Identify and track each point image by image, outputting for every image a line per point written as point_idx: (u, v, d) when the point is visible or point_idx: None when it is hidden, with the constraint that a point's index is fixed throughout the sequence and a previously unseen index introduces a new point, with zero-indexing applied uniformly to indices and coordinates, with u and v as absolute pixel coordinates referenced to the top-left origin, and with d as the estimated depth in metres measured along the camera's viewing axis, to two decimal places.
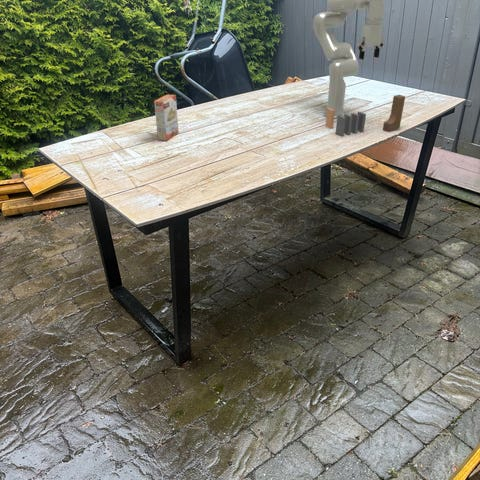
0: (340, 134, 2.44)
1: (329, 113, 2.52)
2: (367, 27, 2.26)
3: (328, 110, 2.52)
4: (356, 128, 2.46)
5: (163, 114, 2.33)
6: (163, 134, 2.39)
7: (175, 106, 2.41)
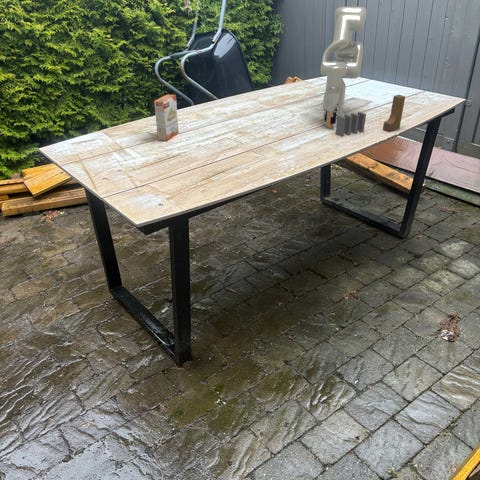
0: (340, 134, 2.44)
1: (329, 113, 2.52)
2: (339, 94, 2.44)
3: None
4: (356, 128, 2.46)
5: (163, 114, 2.33)
6: (163, 134, 2.39)
7: (175, 106, 2.41)
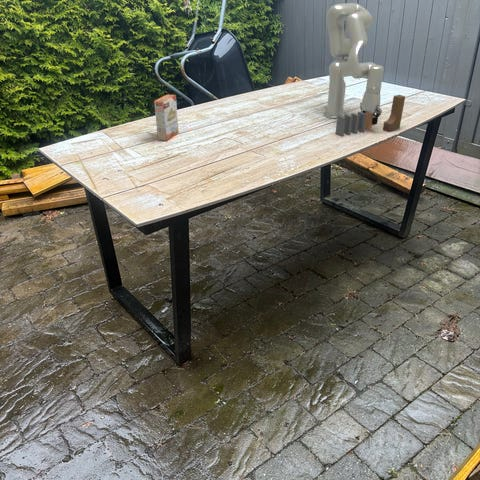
0: (340, 134, 2.44)
1: (368, 115, 2.48)
2: (379, 95, 2.39)
3: (367, 112, 2.48)
4: (356, 128, 2.46)
5: (163, 114, 2.33)
6: (163, 134, 2.39)
7: (175, 106, 2.41)
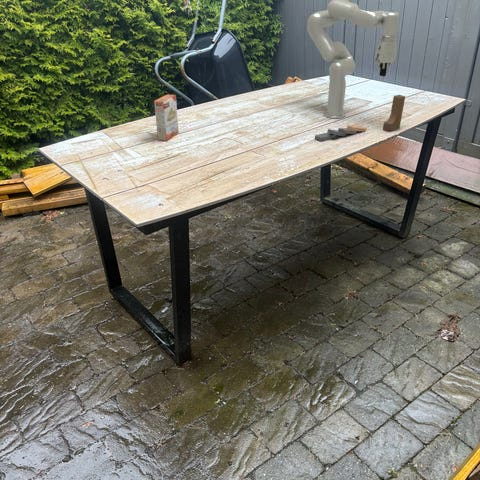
0: None
1: None
2: None
3: (349, 128, 2.47)
4: (342, 134, 2.41)
5: (163, 114, 2.33)
6: (163, 134, 2.39)
7: (175, 106, 2.41)
